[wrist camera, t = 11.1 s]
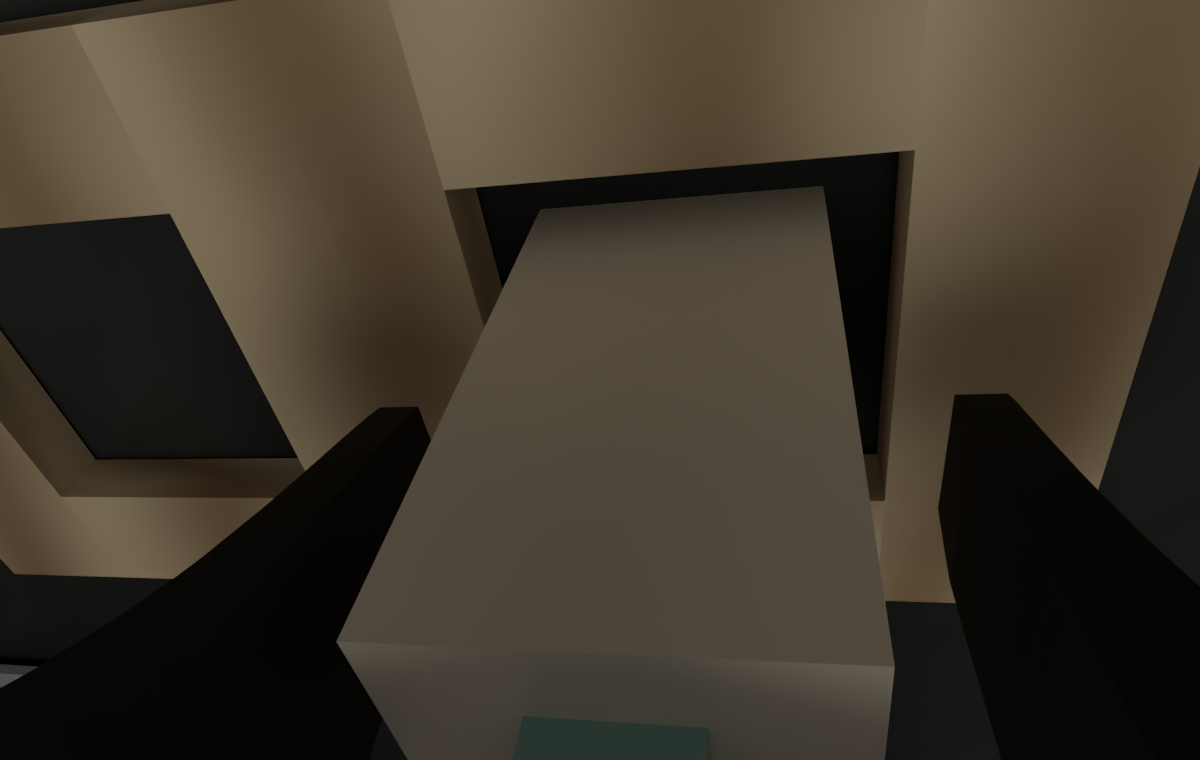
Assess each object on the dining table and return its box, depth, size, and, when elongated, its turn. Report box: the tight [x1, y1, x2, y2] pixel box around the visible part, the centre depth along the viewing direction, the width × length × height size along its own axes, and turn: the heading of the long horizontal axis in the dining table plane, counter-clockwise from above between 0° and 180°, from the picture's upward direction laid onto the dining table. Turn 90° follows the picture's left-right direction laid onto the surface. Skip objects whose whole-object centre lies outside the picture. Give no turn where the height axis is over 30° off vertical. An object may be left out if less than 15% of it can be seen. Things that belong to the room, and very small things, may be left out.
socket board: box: [0, 0, 1200, 603], centre depth 14 cm, size 24×12×1 cm, turn 99°
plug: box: [336, 186, 895, 760], centre depth 10 cm, size 4×4×9 cm
